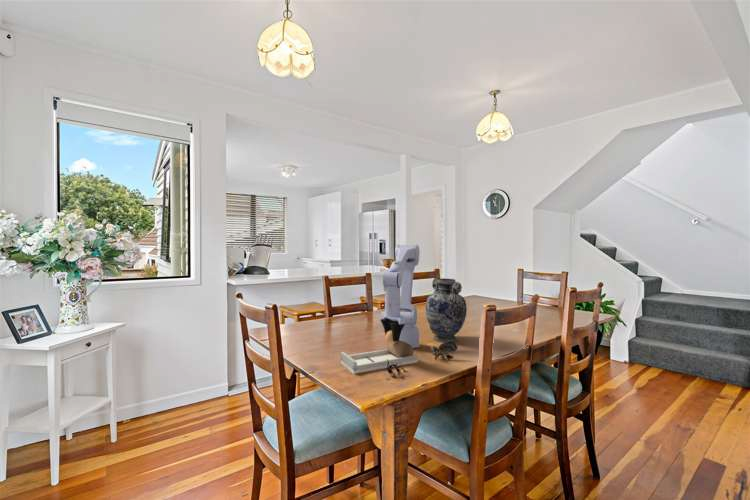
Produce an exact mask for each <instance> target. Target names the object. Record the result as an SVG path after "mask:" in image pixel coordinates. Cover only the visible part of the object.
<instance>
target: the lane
mask: <svg viewBox="0 0 750 500" xmlns="http://www.w3.org/2000/svg"><path fill="white" fill-rule="evenodd" d="M387 359H388V361H389V365H392V364H394V365H396V363H398V364H397V367H399V366H400V367H401V366H404V365H405V366H406V365H409V364H415V363H418V354H413V355H412V356H406V357H401V358H399V357H398V356H396V355H394V354H392V353H391V352H389V351H388V348H386V349H380V350H374V351H366V352H359V353H353V354H349V355H348V354H347V353H346V352H344V351H342V352H340V364H342V365H343V366H344V367H345V368H346V369H347V370H349V371H350V372H351V373H352V374H355V375H356V374H361V373H366V372H373V371H377V370H383V369H387V364H388V361H387ZM400 363H401V364H400ZM389 365H388V367H389ZM393 367H394V368H395V366H392V368H393Z"/></svg>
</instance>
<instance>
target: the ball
mask: <svg viewBox="0 0 750 500" xmlns="http://www.w3.org/2000/svg"><path fill="white" fill-rule="evenodd" d="M385 340H386V342H387V344H388V343H390V344H394V343H396V342H397V341H395V342H394V341H393V337H392V330H390V331H388V332H387V333H386V335H385Z"/></svg>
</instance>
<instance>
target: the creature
mask: <svg viewBox="0 0 750 500" xmlns="http://www.w3.org/2000/svg"><path fill="white" fill-rule="evenodd" d="M387 361H388V359H387ZM397 364H398V363H396V365H394V364H392V365H389V361H388V364H387V368H386V370H387V373H389V374H390V375H392V376H393V379H394V378H396V376H395V373H394V372H393V370H392V369H393V367H392V366H394V369H395V370H396V372H397V376H398V378H401V379H402V380H404V378H403V377H401V375H400V373H401V370H403V372H404V373H407V374H408V375H409V374H410V373H409V372H408V370H406V369H405V368H404V367H401V365H400V366H397ZM400 364H401V363H400ZM388 365H389V367H388Z"/></svg>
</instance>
